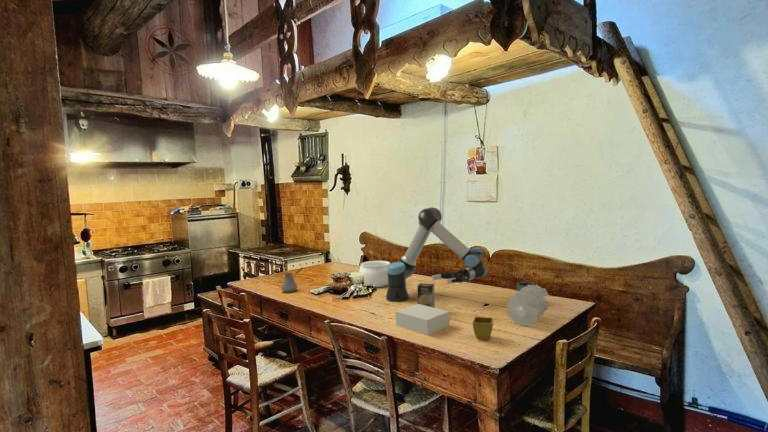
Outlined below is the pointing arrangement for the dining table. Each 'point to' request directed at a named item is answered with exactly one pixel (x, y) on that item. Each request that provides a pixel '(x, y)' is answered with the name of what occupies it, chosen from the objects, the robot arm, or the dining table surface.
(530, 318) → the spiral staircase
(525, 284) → the drinking glass
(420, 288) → the coffee box
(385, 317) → the dining table surface
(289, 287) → the coffee pot
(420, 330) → the painted box
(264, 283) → the dining table surface
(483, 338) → the flower pot
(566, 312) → the dining table surface
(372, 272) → the pot
